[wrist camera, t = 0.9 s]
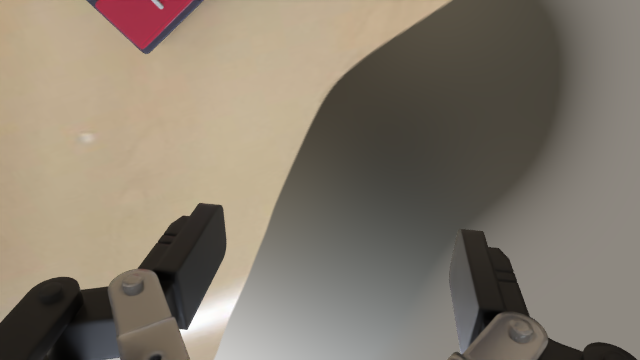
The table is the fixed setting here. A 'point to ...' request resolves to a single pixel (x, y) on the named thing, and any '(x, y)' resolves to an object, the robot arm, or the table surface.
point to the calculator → (145, 18)
